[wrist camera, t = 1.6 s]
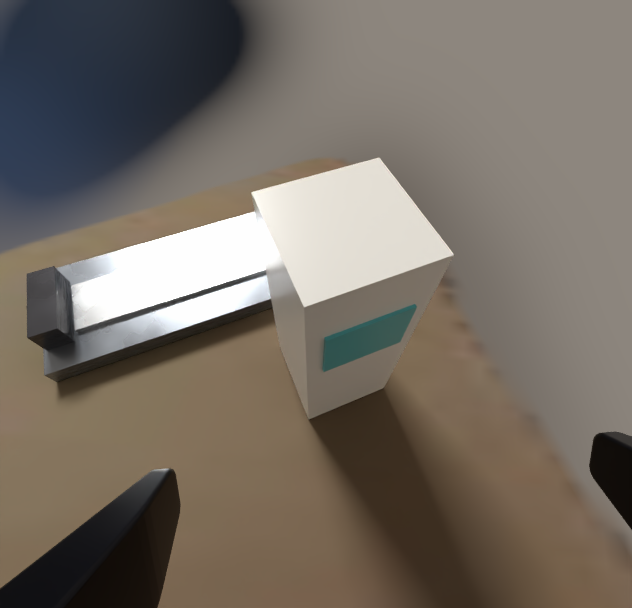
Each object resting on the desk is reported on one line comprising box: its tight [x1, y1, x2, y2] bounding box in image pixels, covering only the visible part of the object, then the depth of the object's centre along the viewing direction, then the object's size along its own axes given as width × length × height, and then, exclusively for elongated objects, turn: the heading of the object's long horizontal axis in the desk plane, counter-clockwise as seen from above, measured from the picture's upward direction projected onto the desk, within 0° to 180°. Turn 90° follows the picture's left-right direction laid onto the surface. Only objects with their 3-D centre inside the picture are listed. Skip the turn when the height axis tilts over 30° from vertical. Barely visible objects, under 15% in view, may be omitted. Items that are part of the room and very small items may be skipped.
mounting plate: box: [27, 212, 273, 382], centre depth 25 cm, size 8×22×3 cm, turn 113°
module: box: [251, 158, 454, 420], centre depth 17 cm, size 5×5×13 cm
